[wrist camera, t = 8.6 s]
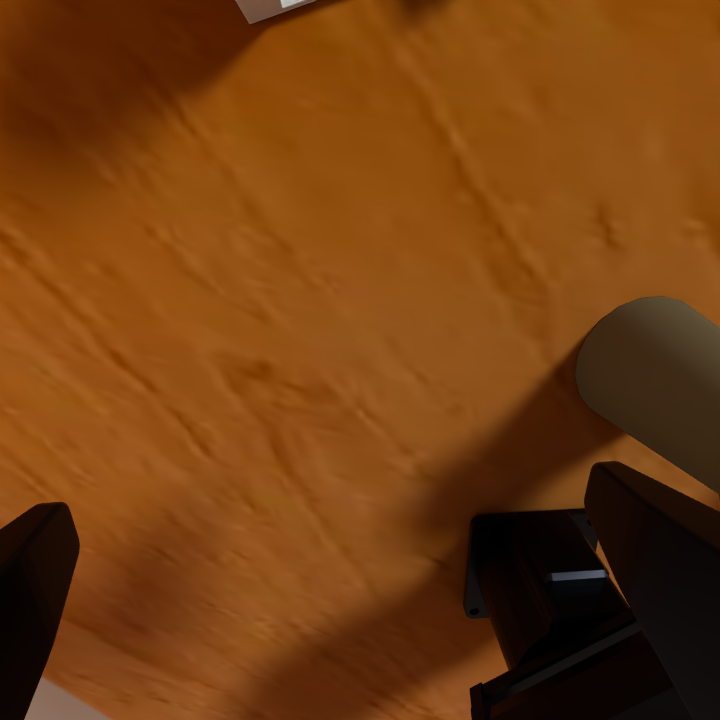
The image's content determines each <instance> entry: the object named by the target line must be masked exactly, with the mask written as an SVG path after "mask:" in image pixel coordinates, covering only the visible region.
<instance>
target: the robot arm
mask: <svg viewBox="0 0 720 720" xmlns="http://www.w3.org/2000/svg"><path fill="white" fill-rule="evenodd" d="M584 506H585V508H584V509H567V510H551V511H534V512H517V513H500V514H484V515H477V516H475V517H474V518H473V519H472V520H471V523H470V532H469V544H468V556H467V568H466V579H465V591H464V603H463V607H464V611H465V614H466V616H467V617H469V618H488V617H490V620H491V623H492V626H493V628H494V631H495V634H496V637H497V640H498V642H499V645H500V648H501V651H502V653H503V656H504V659H505V662H506V665H507V667H508V670H509V671H507V672H505V673H503V674H502V675H500V676H498V677H496V678H494V679H492V680H490V681H488V682H486V683H484V684H482V683H479V684H477V685H475V686H473V687H471V688H470V697H471V707H472V708H471V717H472V720H720V512H719V511H717V510H715V509H713V508H711V507H709V506H707V505H705V504H703V503H701V502H699V501H697V500H695V499H693V498H691V497H689V496H687V495H685V494H683V493H681V492H679V491H677V490H675V489H673V488H671V487H669V486H667V485H664V484H662V483H660V482H658V481H656V480H654V479H652V478H650V477H648V476H646V475H644V474H642V473H640V472H638V471H636V470H634V469H632V468H630V467H628V466H626V465H624V464H622V463H620V462H617V461H610V462H598V463H595V464H594V465H593V466H592V468H591V471H590V476H589V480H588V484H587V489H586V493H585V498H584ZM588 519H589V520H588ZM481 524H485V525H483V526H482V527H478V526H479V525H481ZM598 541H599V543H600V545H601V547H602V550H603V552H604V554H605V557H606V559H607V561H608V563H609V566H610V568H611V570H612V572H613V575H614V577H615V579H616V581H617V583H618V585H619V588H620V590H621V591H622V593H623V595H624V597H625V599H626V601H627V602H626V601H625V599H624V598H623V596H622V595H621V593H620V592H619V590H618V589H617V587H616V586H615V584H614V583H613V581H612V580H611V578H610V577H609V572H608V570H607V568H606V567H605V565H604V564H603V562H602V561H601V559H600V558H599V557H598V555H597V554H596V547H597V542H598ZM79 549H80V543H79V537H78V534H77V531H76V528H75V525H74V521H73V518H72V515H71V512H70V509H69V507H68V505H67V504H66V503H63V502H52V503H41V504H37V505H35V506H33V507H32V508H31V509H29V510H28V511H26V512H25V513H23V514H22V515H20V516H19V517H17V518H16V519H15V520H13V521H12V522H10V523H9V524H7V525H6V526H4V527H3V528H2V529H0V720H24V719H25V716H26V714H27V711H28V709H29V706H30V703H31V701H32V698H33V696H34V693H35V691H36V688H37V686H38V683H39V681H40V678H41V676H42V673H43V671H44V668H45V666H46V663H47V660H48V658H49V655H50V652H51V650H52V647H53V644H54V641H55V637H56V634H57V631H58V627H59V624H60V620H61V617H62V613H63V609H64V606H65V602H66V598H67V595H68V591H69V588H70V584H71V580H72V577H73V573H74V570H75V566H76V562H77V559H78V555H79ZM627 603H628V604H629V605H628V604H627ZM629 606H630V607H629ZM473 608H474V609H473Z"/></svg>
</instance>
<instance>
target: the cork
mask: <svg viewBox="0 0 720 720" xmlns="http://www.w3.org/2000/svg"><path fill="white" fill-rule="evenodd" d="M575 379H576V383H577V387H578V391H579V395H580V396H581V397H582V399H583V400H584V402H585V403H586V404H587V406H588V407H589V408H590V409H591V410H593V411H594V412H596V413H597V414H599V415H600V416H602V417H603V418H605V419H606V420H608V421H609V422H611V423H612V424H614V425H615V426H617V427H618V428H620V429H621V430H623V431H624V432H626V433H627V434H629V435H630V436H632V437H633V438H635V439H636V440H638V441H639V442H641V443H642V444H644V445H645V446H647V447H648V448H650V449H651V450H653V451H654V452H656V453H657V454H659V455H660V456H662V457H663V458H665V459H666V460H668V461H670V462H671V463H673V464H674V465H676V466H677V467H679V468H680V469H682V470H683V471H685V472H686V473H688V474H689V475H691V476H692V477H694V478H695V479H697V480H698V481H700V482H701V483H703V484H704V485H706V486H707V487H709V488H710V489H712V490H713V491H715V492H716V493H718V494H719V497H720V328H719V327H718V326H717V325H715V324H714V323H712V322H711V321H710V320H708V319H707V318H705V317H704V316H703V315H701V314H700V313H698V312H697V311H696V310H694V309H693V308H691V307H690V306H688V305H687V304H686V303H684V302H683V301H680V300H676V299H672V298H668V297H664V296H658V297H646V298H640V299H637V300H634V301H632V302H629V303H627V304H624V305H621V306H619V307H618V308H616V309H615V310H614V311H612V312H611V313H609V314H608V315H607V316H605V317H604V318H603V319H601V320H600V321H599V322H598V324H597V325H596V326H595V327H594V328H593V330H592V331H591V332H590V333H589V335H588V336H587V337H586V339H585V341H584V343H583V345H582V348H581V350H580V352H579V354H578V357H577V363H576V373H575Z"/></svg>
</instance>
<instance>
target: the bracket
mask: <svg viewBox="0 0 720 720" xmlns="http://www.w3.org/2000/svg"><path fill="white" fill-rule="evenodd" d="M235 1H236V3H237V4H238V6H239V8H240V9H241V11H242V13H243V14H244V16H245V18H246V19H247V21H248V23H249V24H253V23H255V22H258V21H261V20H264V19H267V18H269V17H272V16H275V15H278V14H281V13H283V12H286V11H289V10H292V9H295V8H297V7H300V6H303V5H306V4H308V3H311V2H314V1H317V0H235Z"/></svg>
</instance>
